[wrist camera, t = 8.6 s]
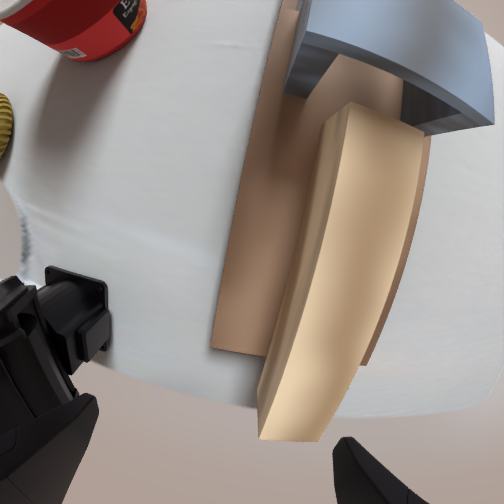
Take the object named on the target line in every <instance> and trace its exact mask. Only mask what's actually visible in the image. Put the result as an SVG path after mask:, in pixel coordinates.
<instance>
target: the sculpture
mask: <svg viewBox="0 0 504 504" xmlns="http://www.w3.org/2000/svg"><path fill="white" fill-rule="evenodd" d="M12 113H13V112H12V107H11V103H10V102H9V99H8V98H7V97H6V96H5V95H4V94H1V93H0V158H1V157H2V155H3V153H4V151H5V149H6V147H7V145H8V141H9V139H10V137H8V136H6V135H11V131H10V130H12V123H13V114H12Z"/></svg>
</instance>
